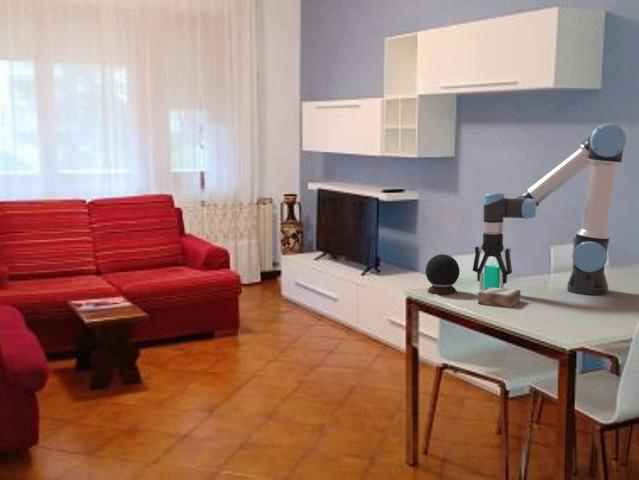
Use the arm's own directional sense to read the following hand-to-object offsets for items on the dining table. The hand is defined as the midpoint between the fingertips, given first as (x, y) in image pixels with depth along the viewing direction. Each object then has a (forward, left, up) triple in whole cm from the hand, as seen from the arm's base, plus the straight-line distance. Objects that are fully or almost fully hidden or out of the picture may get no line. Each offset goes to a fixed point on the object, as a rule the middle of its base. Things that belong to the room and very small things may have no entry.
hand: (491, 290), depth 281 cm
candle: (0, 0, -1) cm, 1 cm away
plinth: (-8, +16, -1) cm, 18 cm away
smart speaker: (+17, +9, -1) cm, 19 cm away
